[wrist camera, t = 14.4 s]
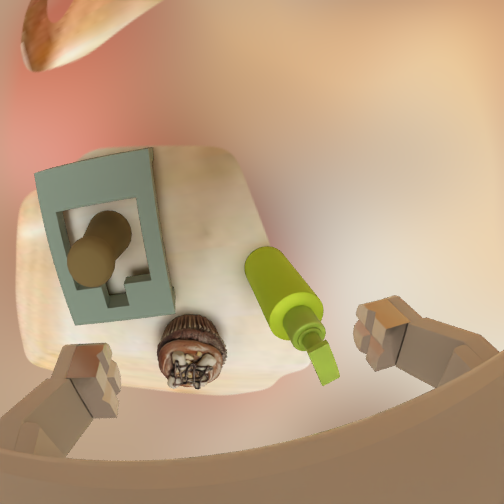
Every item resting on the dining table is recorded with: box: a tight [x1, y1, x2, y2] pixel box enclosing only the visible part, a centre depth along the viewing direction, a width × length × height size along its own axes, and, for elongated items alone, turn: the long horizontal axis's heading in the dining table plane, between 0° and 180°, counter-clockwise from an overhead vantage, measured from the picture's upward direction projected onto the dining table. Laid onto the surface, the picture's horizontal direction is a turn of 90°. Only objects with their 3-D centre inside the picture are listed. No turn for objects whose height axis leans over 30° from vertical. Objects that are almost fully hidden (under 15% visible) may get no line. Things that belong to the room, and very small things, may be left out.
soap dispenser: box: [245, 247, 340, 386], centre depth 34 cm, size 6×7×20 cm
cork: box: [67, 211, 132, 287], centre depth 32 cm, size 6×6×11 cm
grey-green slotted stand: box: [34, 148, 175, 325], centre depth 35 cm, size 20×14×4 cm
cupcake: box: [157, 315, 227, 389], centre depth 40 cm, size 10×10×10 cm
